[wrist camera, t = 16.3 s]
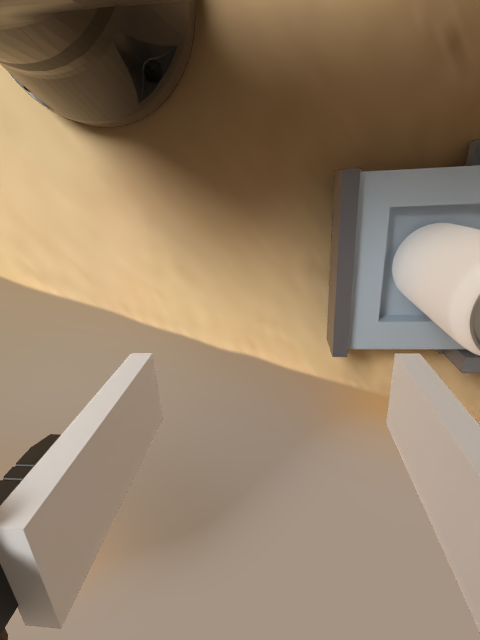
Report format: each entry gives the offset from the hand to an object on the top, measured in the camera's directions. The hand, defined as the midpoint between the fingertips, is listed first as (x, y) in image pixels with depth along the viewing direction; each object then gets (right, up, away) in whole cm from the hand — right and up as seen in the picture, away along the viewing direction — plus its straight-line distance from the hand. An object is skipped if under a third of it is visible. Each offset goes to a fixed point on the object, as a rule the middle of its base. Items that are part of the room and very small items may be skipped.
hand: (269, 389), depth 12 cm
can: (+15, +7, +16) cm, 23 cm away
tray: (+14, +7, +17) cm, 24 cm away
